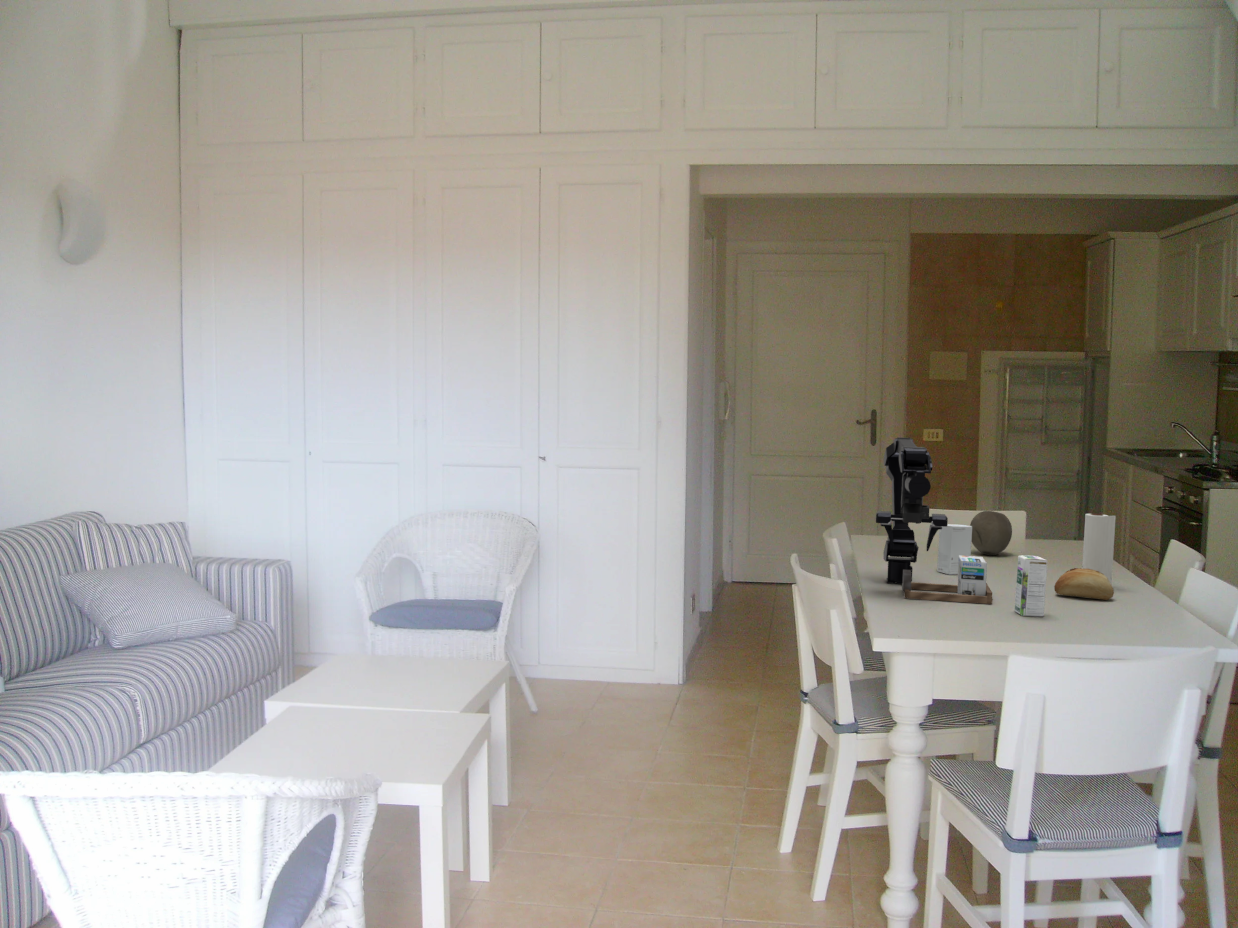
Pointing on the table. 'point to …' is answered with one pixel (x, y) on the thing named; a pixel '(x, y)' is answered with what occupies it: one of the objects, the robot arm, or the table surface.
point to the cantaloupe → (991, 532)
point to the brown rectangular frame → (909, 594)
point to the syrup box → (1030, 585)
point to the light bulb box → (972, 575)
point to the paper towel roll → (1099, 543)
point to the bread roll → (1084, 584)
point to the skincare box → (953, 547)
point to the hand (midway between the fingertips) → (909, 550)
